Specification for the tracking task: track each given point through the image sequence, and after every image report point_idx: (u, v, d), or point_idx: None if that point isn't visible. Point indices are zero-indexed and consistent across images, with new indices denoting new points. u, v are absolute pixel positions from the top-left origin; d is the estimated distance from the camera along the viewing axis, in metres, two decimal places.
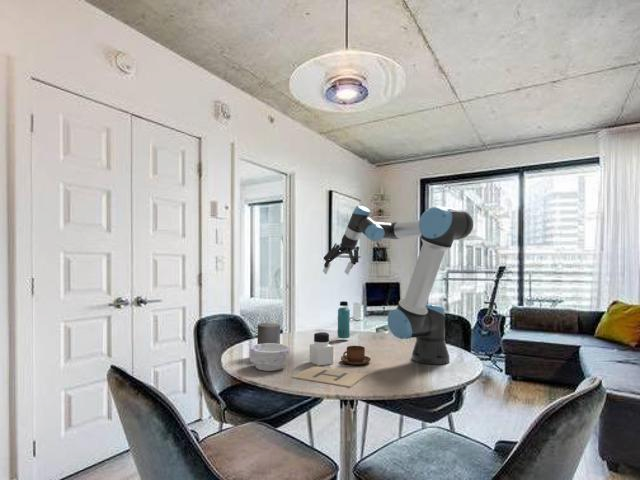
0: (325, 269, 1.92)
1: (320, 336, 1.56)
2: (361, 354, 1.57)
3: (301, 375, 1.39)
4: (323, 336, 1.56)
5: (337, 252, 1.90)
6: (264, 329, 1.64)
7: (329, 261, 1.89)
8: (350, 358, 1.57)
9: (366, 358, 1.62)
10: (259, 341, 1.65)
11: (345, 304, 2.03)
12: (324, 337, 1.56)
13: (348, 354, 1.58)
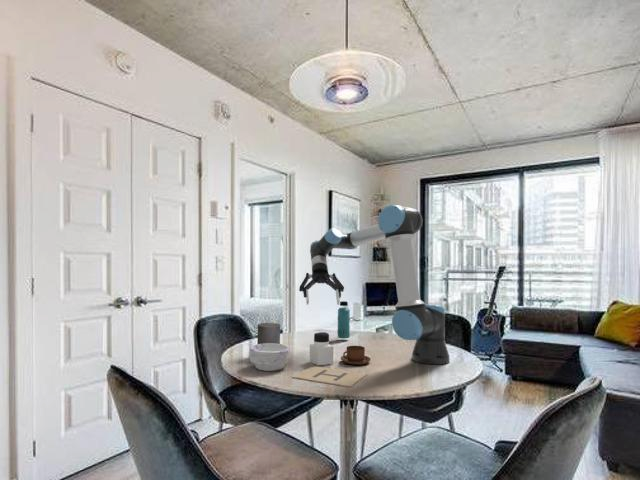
0: (306, 298, 1.73)
1: (320, 336, 1.56)
2: (361, 354, 1.57)
3: (301, 375, 1.39)
4: (323, 336, 1.56)
5: None
6: (264, 329, 1.64)
7: (304, 287, 1.76)
8: (350, 358, 1.57)
9: (366, 358, 1.62)
10: (259, 341, 1.65)
11: (345, 304, 2.03)
12: (324, 337, 1.56)
13: (348, 354, 1.58)
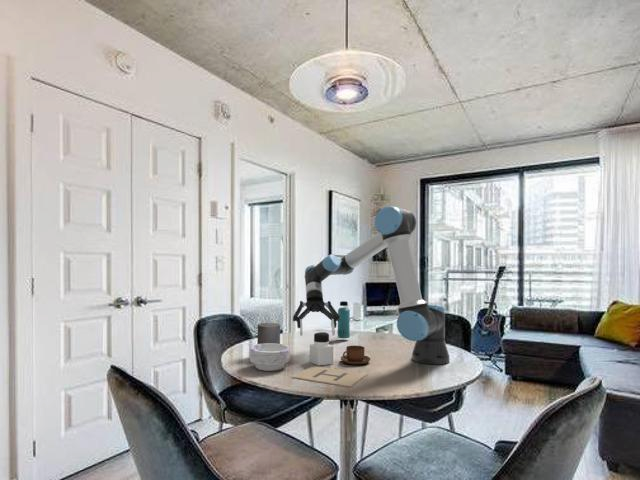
0: (300, 329, 1.65)
1: (320, 336, 1.56)
2: (361, 354, 1.57)
3: (301, 375, 1.39)
4: (323, 336, 1.56)
5: None
6: (264, 329, 1.64)
7: (298, 317, 1.68)
8: (350, 358, 1.57)
9: (366, 358, 1.62)
10: (259, 341, 1.65)
11: (345, 304, 2.03)
12: (324, 337, 1.56)
13: (348, 354, 1.58)
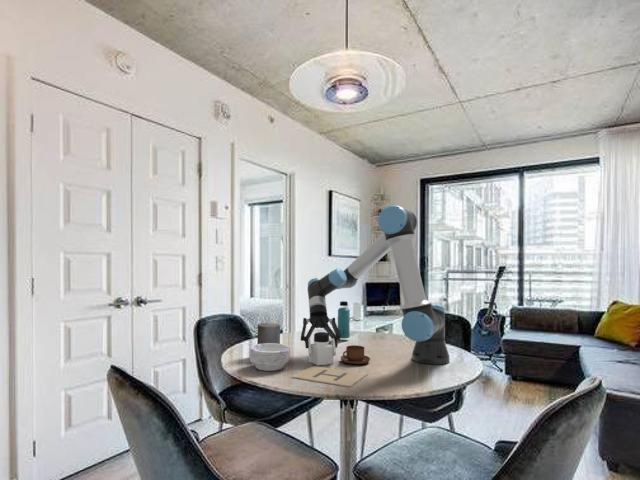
0: (308, 350, 1.56)
1: (320, 336, 1.56)
2: (361, 354, 1.57)
3: (301, 375, 1.39)
4: (323, 336, 1.56)
5: (311, 327, 1.64)
6: (264, 329, 1.64)
7: (306, 336, 1.59)
8: (350, 358, 1.57)
9: (366, 358, 1.63)
10: (259, 341, 1.65)
11: (345, 304, 2.03)
12: (324, 337, 1.56)
13: (348, 354, 1.58)
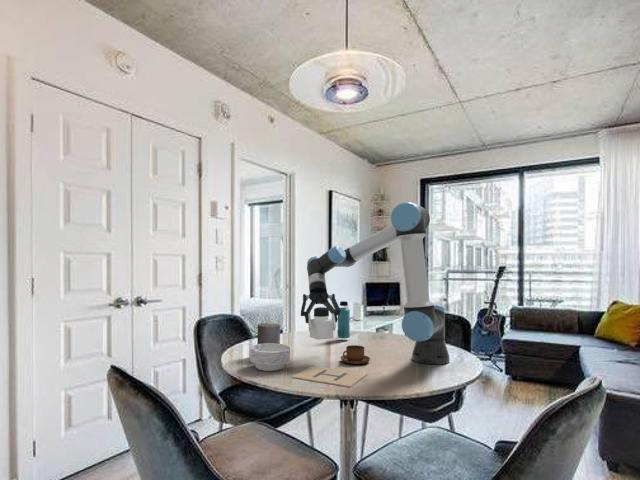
0: (308, 324, 1.57)
1: (320, 310, 1.57)
2: (361, 354, 1.57)
3: (301, 375, 1.39)
4: (323, 310, 1.57)
5: None
6: (264, 329, 1.64)
7: (306, 312, 1.60)
8: (350, 357, 1.58)
9: (366, 358, 1.63)
10: (259, 341, 1.65)
11: (345, 304, 2.03)
12: (324, 312, 1.57)
13: (348, 353, 1.59)
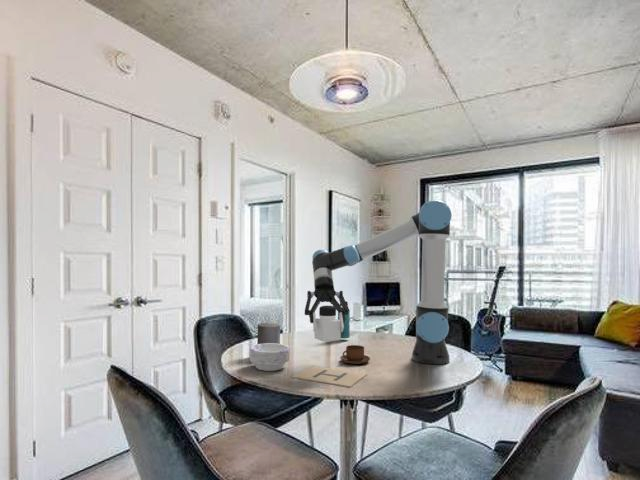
0: (313, 325, 1.41)
1: (326, 309, 1.41)
2: (360, 354, 1.58)
3: (301, 375, 1.39)
4: (329, 309, 1.41)
5: None
6: (264, 329, 1.64)
7: (311, 310, 1.44)
8: (349, 357, 1.58)
9: (366, 357, 1.63)
10: (259, 341, 1.65)
11: None
12: (331, 311, 1.41)
13: (347, 353, 1.59)
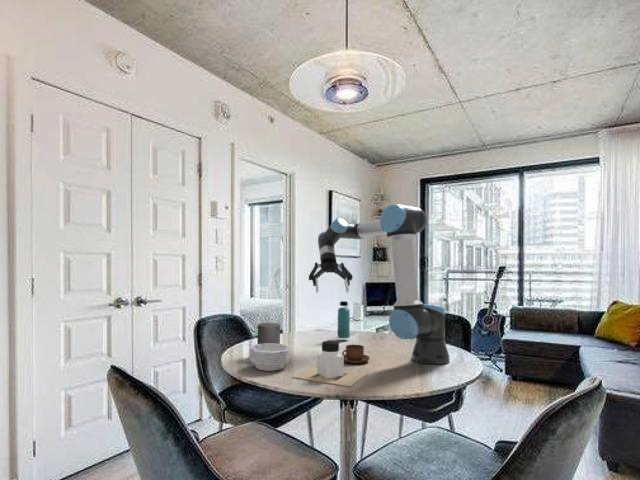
0: (316, 287, 1.76)
1: (329, 345, 1.38)
2: (360, 353, 1.59)
3: (301, 375, 1.39)
4: (332, 345, 1.38)
5: None
6: (264, 329, 1.64)
7: (314, 276, 1.79)
8: (349, 357, 1.59)
9: (365, 357, 1.64)
10: (259, 341, 1.65)
11: (345, 304, 2.03)
12: (334, 346, 1.38)
13: (347, 353, 1.60)
